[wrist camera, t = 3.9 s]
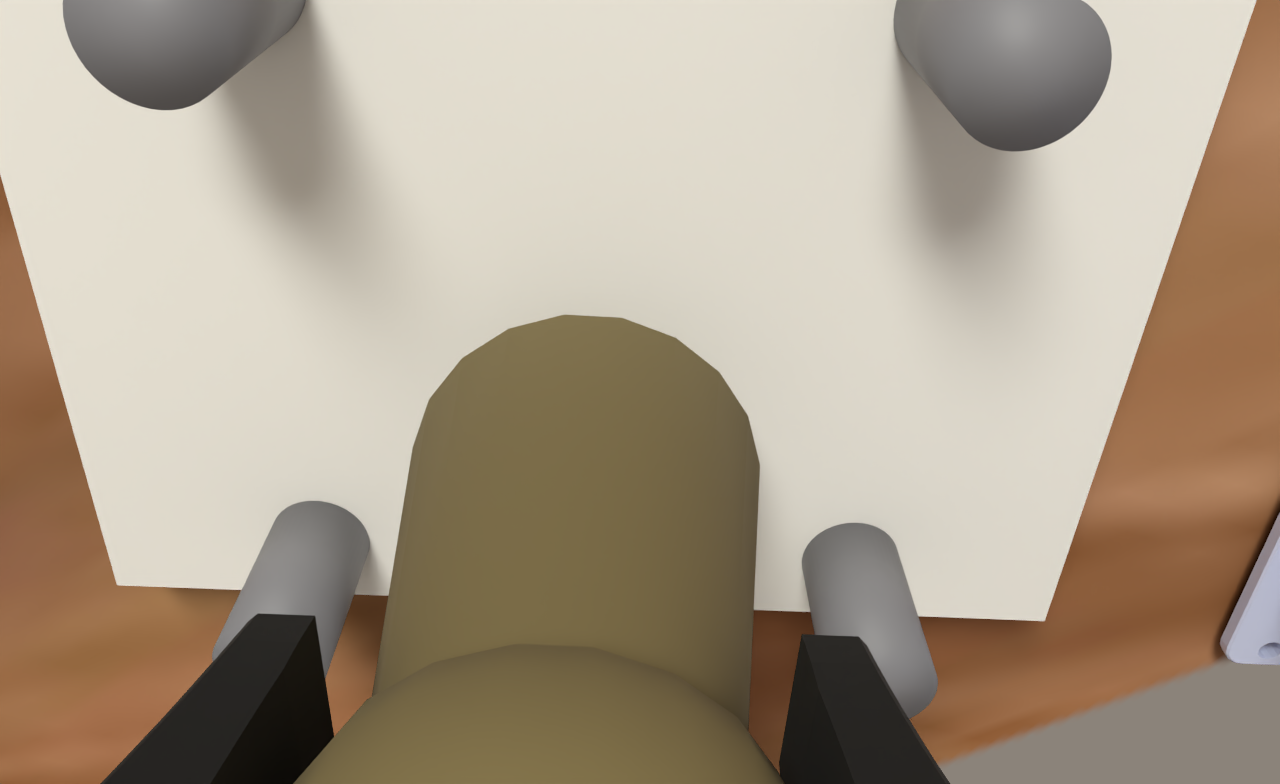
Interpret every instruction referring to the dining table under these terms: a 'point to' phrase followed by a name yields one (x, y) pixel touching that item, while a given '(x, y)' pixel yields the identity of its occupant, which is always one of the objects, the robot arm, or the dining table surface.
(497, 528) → the olive rounded cylinder
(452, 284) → the peg board
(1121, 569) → the dining table surface
